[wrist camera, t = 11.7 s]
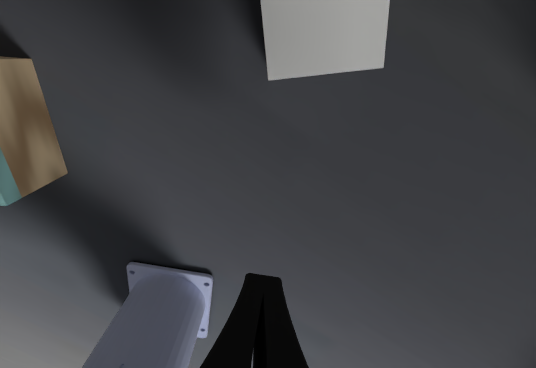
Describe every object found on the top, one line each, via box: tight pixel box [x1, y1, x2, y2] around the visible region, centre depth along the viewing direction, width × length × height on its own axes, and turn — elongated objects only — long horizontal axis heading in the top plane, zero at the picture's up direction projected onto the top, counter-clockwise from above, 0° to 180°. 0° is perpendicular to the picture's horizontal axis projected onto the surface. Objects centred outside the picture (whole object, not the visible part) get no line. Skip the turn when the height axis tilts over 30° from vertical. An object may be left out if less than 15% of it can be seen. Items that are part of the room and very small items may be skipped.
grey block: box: [261, 0, 390, 80], centre depth 12 cm, size 5×5×5 cm
